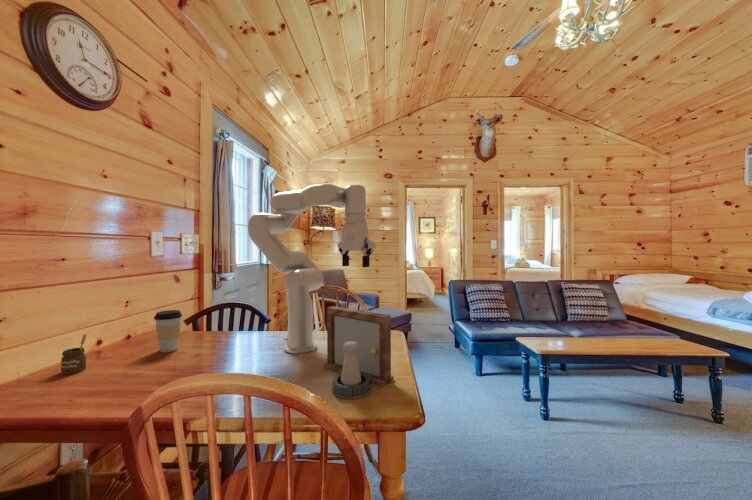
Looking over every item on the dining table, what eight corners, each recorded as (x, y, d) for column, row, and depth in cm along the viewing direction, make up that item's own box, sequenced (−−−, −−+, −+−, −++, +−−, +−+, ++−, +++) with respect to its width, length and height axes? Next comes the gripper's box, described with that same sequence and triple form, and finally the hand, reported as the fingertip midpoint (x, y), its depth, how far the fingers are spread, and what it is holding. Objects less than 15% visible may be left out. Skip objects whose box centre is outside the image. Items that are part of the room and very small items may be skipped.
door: (331, 364, 103) (331, 316, 103) (337, 361, 106) (337, 314, 106) (377, 379, 92) (377, 324, 92) (383, 375, 94) (383, 322, 94)
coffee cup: (172, 353, 119) (172, 314, 118) (148, 353, 119) (147, 314, 119) (187, 346, 128) (187, 309, 128) (165, 346, 128) (164, 309, 128)
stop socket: (323, 391, 87) (323, 381, 87) (349, 378, 96) (349, 368, 96) (353, 403, 81) (353, 392, 81) (378, 387, 89) (378, 377, 89)
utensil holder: (69, 368, 105) (68, 333, 104) (91, 366, 106) (91, 331, 106) (55, 375, 99) (55, 338, 99) (79, 373, 100) (79, 336, 100)
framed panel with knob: (324, 367, 104) (323, 308, 104) (336, 362, 109) (336, 305, 109) (382, 387, 90) (381, 318, 90) (393, 380, 95) (393, 314, 94)
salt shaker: (358, 393, 85) (358, 346, 85) (338, 391, 86) (337, 345, 86) (363, 384, 91) (363, 340, 91) (344, 382, 92) (344, 338, 92)
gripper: (331, 220, 116) (331, 266, 116) (367, 217, 106) (367, 268, 106) (345, 221, 122) (345, 265, 122) (380, 219, 112) (380, 266, 112)
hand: (355, 266), depth 114 cm, fingers open, 9 cm apart
